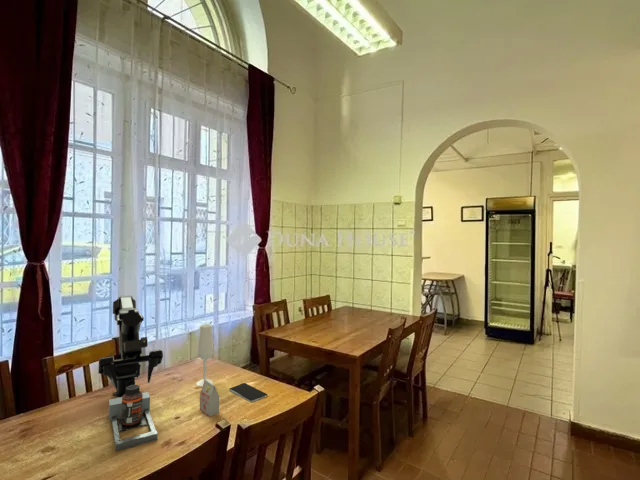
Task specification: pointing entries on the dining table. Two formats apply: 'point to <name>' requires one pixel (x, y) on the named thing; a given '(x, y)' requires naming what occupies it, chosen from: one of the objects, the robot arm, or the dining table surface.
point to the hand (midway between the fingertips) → (133, 385)
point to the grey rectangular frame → (138, 438)
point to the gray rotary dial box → (116, 406)
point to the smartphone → (247, 392)
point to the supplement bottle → (132, 406)
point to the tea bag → (209, 399)
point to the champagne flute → (205, 348)
